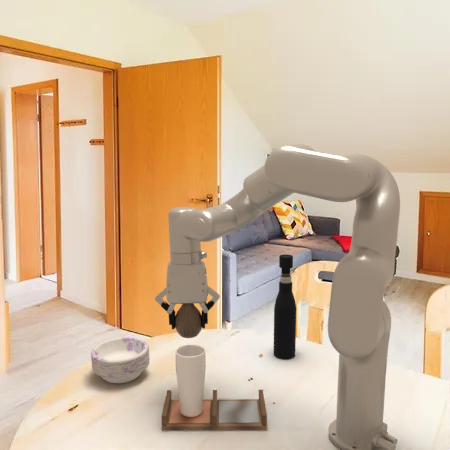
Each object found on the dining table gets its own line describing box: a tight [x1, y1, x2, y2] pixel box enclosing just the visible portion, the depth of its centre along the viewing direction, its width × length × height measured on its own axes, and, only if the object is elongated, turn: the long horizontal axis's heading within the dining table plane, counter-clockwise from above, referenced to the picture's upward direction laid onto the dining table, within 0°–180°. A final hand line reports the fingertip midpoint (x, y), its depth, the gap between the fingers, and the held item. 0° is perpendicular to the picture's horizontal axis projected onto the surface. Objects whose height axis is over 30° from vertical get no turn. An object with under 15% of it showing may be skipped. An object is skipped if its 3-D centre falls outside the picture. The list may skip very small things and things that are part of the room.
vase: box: [175, 303, 203, 339], centre depth 122 cm, size 7×7×9 cm
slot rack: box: [161, 389, 268, 432], centre depth 112 cm, size 23×11×4 cm, turn 90°
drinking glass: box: [175, 344, 207, 417], centre depth 110 cm, size 7×7×15 cm
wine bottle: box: [273, 254, 297, 360], centre depth 141 cm, size 6×6×30 cm
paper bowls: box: [90, 336, 150, 384], centre depth 131 cm, size 15×15×8 cm
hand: (188, 326), depth 122 cm, fingers closed on vase, 6 cm apart
